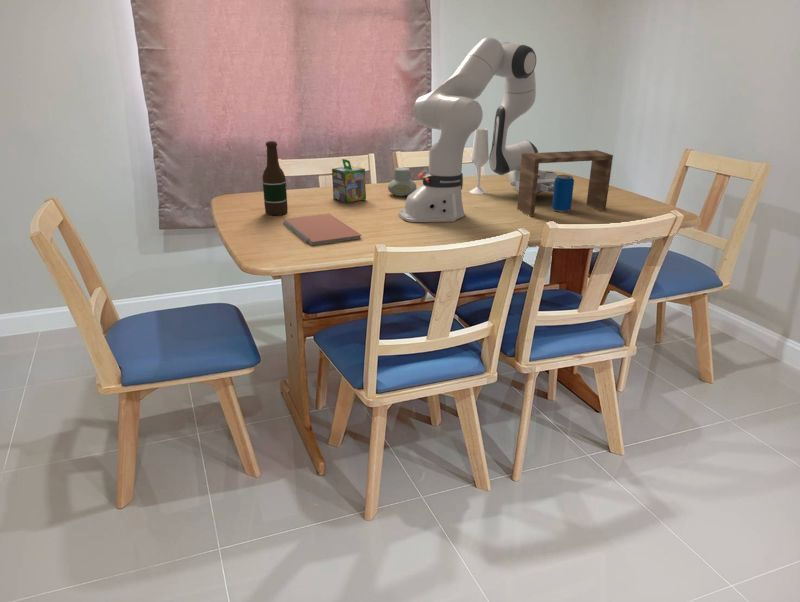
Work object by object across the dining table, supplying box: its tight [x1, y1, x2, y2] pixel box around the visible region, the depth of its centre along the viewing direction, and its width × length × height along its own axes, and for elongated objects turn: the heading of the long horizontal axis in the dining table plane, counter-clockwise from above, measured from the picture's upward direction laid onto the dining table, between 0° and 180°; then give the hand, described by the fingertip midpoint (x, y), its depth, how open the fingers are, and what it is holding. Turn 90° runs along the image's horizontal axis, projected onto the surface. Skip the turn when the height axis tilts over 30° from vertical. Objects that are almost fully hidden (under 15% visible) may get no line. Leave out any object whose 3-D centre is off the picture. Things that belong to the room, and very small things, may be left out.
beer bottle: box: [262, 140, 289, 217], centre depth 210 cm, size 8×8×24 cm
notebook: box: [282, 213, 362, 246], centre depth 197 cm, size 27×17×2 cm, turn 27°
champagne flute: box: [469, 127, 490, 195], centre depth 241 cm, size 7×7×24 cm
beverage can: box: [551, 174, 575, 213], centre depth 219 cm, size 6×6×12 cm
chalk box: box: [331, 158, 367, 204], centre depth 231 cm, size 9×9×15 cm
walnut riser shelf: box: [516, 149, 614, 217], centre depth 217 cm, size 29×10×20 cm, turn 106°
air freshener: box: [387, 166, 418, 198], centre depth 239 cm, size 11×8×10 cm
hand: (551, 189), depth 226 cm, fingers closed
